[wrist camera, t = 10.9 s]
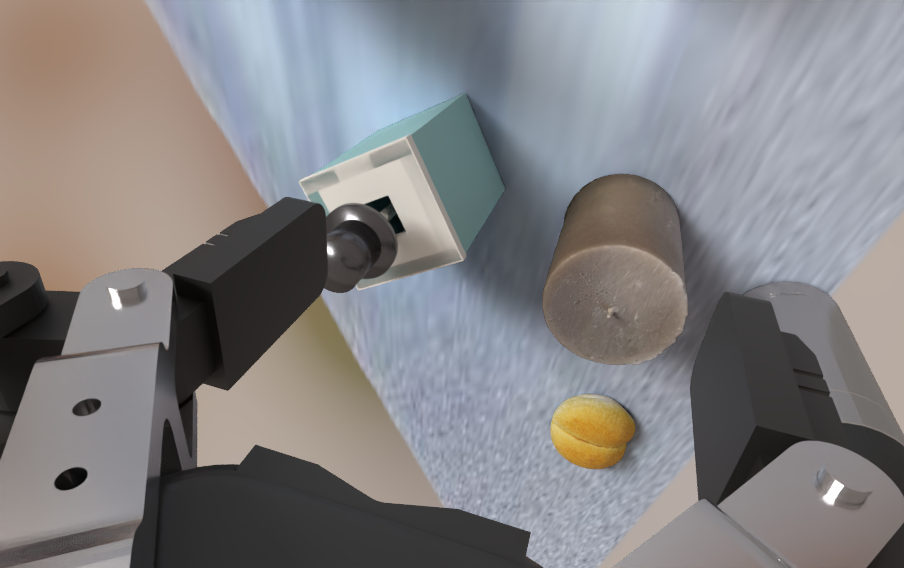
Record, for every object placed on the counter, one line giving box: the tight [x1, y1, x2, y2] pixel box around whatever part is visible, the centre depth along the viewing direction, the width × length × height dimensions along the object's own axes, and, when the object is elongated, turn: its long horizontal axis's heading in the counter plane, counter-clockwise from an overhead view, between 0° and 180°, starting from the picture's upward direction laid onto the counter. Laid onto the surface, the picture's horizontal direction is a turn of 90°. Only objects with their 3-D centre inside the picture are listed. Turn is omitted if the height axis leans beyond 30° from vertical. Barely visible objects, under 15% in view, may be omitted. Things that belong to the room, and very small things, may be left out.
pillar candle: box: [542, 174, 688, 365], centre depth 44 cm, size 10×10×15 cm
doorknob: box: [324, 202, 398, 293], centre depth 42 cm, size 6×6×18 cm
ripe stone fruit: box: [550, 394, 635, 469], centre depth 60 cm, size 8×9×4 cm
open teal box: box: [299, 93, 505, 291], centre depth 47 cm, size 9×11×14 cm
